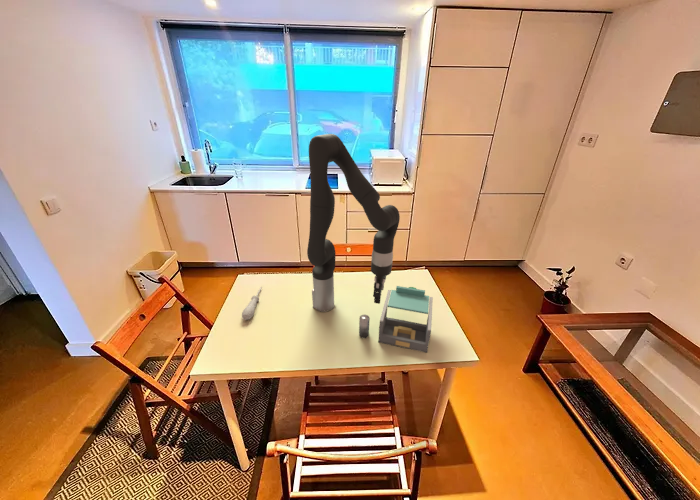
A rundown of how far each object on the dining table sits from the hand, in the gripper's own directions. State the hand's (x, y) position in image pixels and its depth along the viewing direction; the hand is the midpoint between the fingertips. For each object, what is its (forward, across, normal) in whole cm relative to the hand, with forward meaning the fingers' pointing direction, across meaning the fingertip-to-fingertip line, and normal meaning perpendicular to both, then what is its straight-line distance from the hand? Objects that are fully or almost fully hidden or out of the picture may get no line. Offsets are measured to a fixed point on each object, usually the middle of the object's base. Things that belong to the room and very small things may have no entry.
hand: (378, 296), depth 112 cm
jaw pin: (+18, +3, -4) cm, 19 cm away
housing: (+18, -4, +12) cm, 22 cm away
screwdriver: (+20, -3, -58) cm, 62 cm away
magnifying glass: (+19, -27, +14) cm, 36 cm away
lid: (+7, -8, +12) cm, 16 cm away
